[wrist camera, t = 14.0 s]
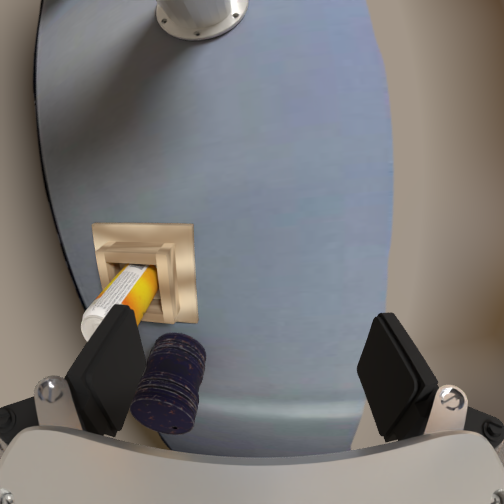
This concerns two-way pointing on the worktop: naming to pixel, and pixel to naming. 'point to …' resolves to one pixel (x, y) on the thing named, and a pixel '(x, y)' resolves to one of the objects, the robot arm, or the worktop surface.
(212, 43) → the worktop surface
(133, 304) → the beer can
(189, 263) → the can holder
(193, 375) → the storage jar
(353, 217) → the worktop surface
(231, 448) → the worktop surface
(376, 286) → the worktop surface
